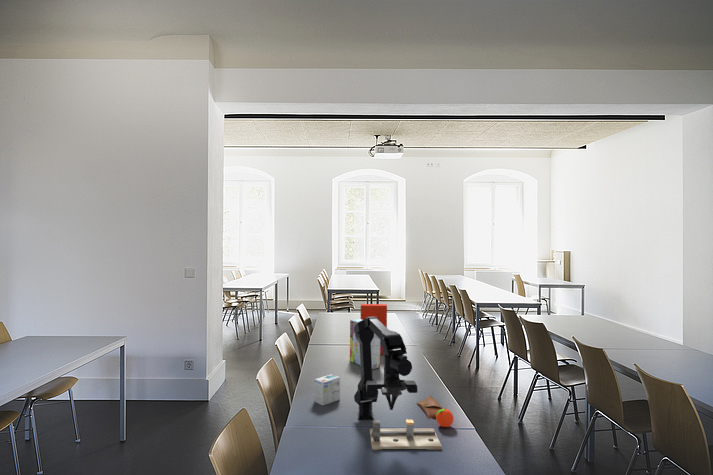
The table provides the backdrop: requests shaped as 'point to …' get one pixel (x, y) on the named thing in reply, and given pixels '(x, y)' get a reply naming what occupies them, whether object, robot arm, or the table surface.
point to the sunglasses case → (429, 406)
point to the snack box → (356, 347)
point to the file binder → (375, 314)
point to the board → (402, 438)
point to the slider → (409, 429)
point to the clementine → (444, 417)
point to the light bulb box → (327, 389)
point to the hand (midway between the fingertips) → (391, 409)
